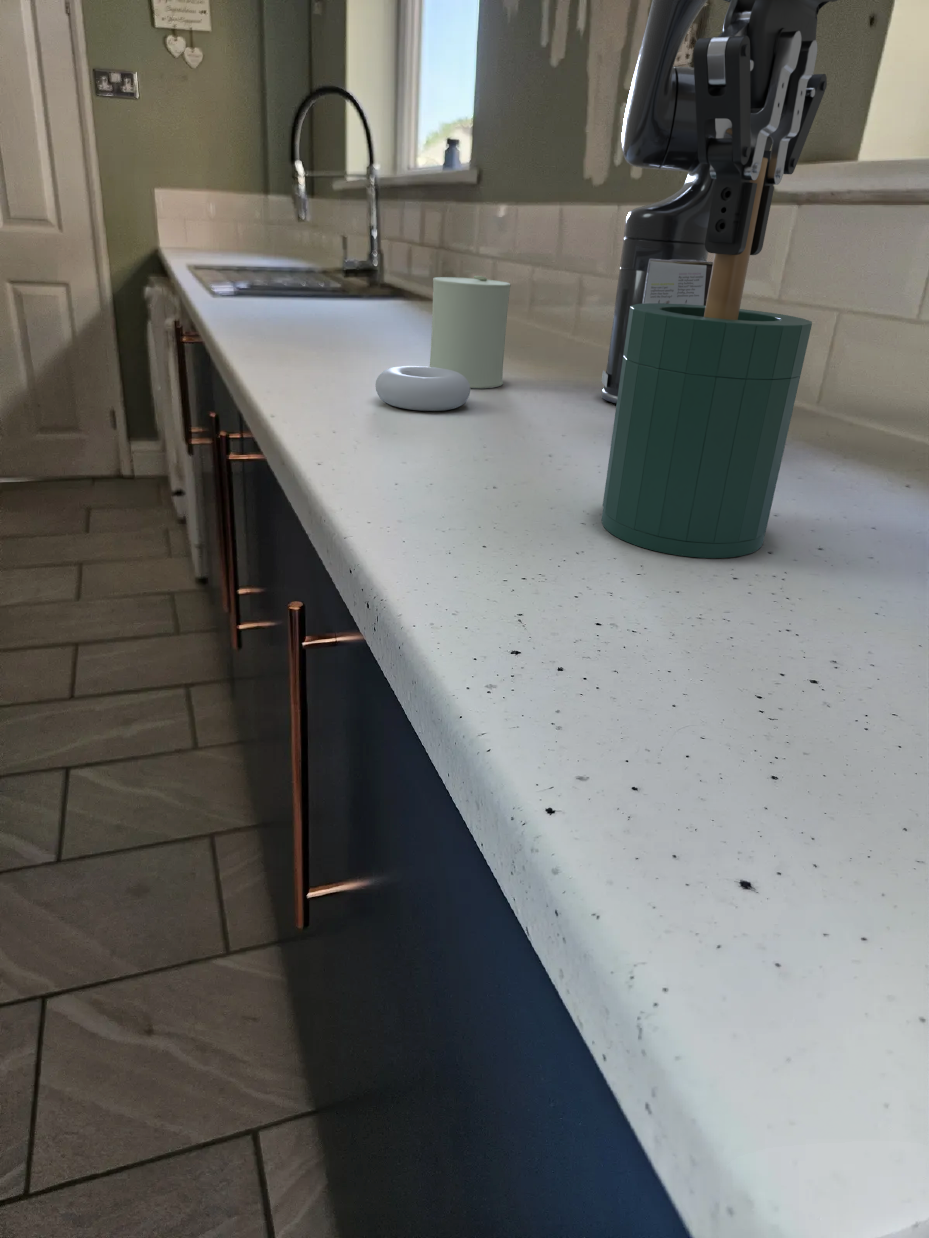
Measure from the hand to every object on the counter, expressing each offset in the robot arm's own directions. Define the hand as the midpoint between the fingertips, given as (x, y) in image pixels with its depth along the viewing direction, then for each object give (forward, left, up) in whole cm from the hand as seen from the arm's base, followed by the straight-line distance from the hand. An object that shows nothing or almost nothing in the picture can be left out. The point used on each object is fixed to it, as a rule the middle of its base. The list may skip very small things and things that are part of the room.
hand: (732, 252), depth 51 cm
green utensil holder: (-1, 0, -17) cm, 17 cm away
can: (-33, -44, -18) cm, 58 cm away
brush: (0, 0, -15) cm, 15 cm away
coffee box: (-25, -14, -18) cm, 34 cm away
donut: (-18, -38, -18) cm, 46 cm away
